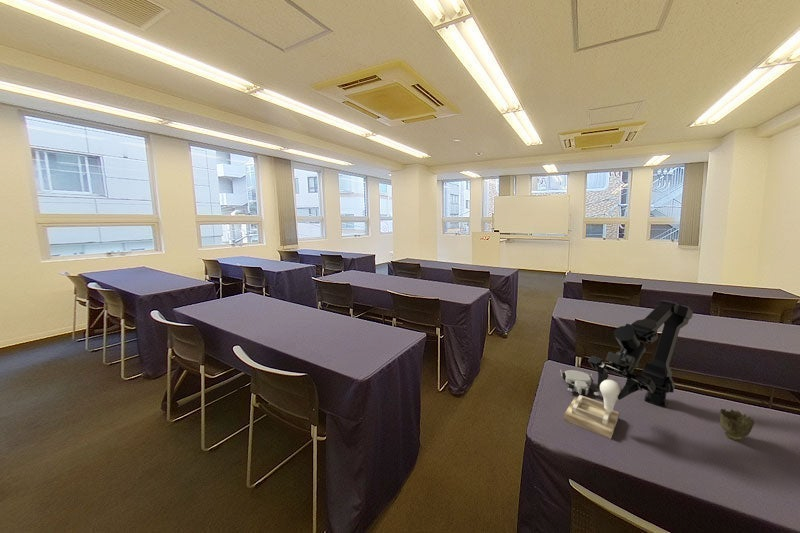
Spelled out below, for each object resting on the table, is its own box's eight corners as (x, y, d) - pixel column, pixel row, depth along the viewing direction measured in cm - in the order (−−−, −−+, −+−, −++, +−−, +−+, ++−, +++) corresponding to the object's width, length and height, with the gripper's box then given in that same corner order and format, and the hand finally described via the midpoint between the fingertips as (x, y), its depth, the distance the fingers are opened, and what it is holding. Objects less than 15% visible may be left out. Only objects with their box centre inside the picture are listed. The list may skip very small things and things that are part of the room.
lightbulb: (599, 403, 107) (602, 374, 105) (620, 410, 103) (624, 380, 101) (595, 411, 102) (599, 381, 100) (618, 419, 98) (621, 388, 96)
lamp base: (574, 402, 118) (575, 390, 117) (618, 418, 109) (619, 405, 108) (563, 420, 108) (565, 407, 107) (610, 439, 98) (612, 425, 98)
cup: (739, 432, 101) (743, 411, 100) (756, 448, 94) (761, 425, 93) (711, 427, 104) (714, 406, 102) (725, 442, 97) (729, 420, 95)
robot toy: (600, 402, 120) (589, 380, 134) (602, 392, 119) (591, 371, 133) (566, 396, 124) (559, 376, 138) (567, 387, 123) (560, 367, 137)
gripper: (593, 334, 109) (571, 370, 105) (655, 354, 92) (632, 397, 89) (603, 350, 113) (583, 385, 110) (665, 372, 97) (643, 413, 94)
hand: (608, 394), depth 101 cm, fingers closed on lightbulb, 6 cm apart
